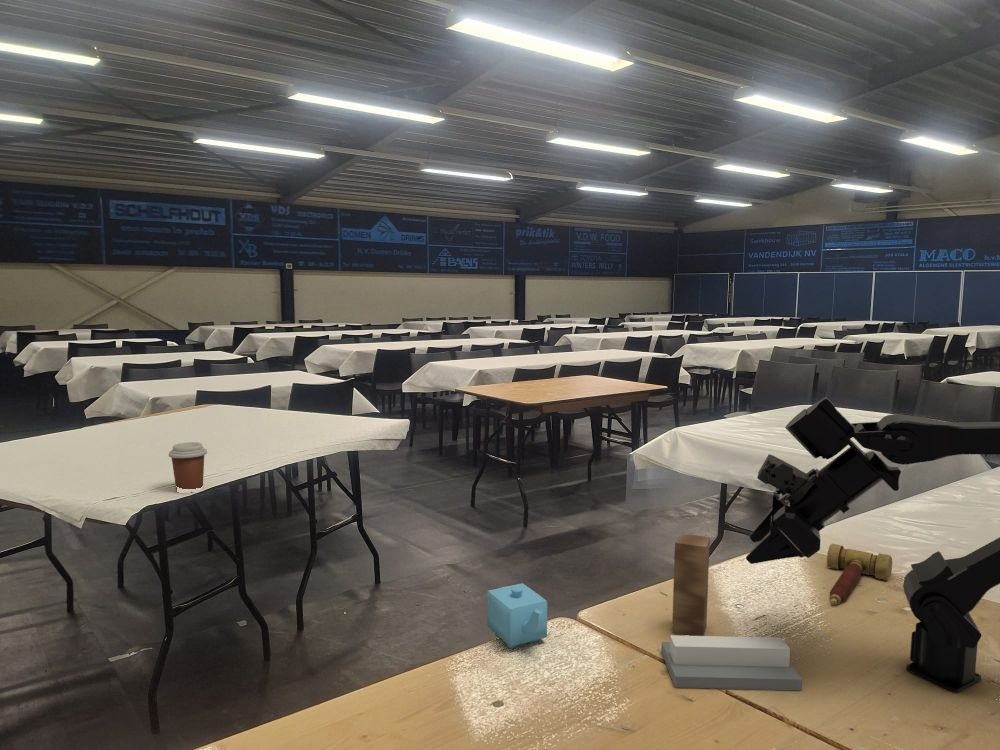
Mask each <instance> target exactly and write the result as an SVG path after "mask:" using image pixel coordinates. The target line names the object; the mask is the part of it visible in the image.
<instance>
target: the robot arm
mask: <svg viewBox="0 0 1000 750" xmlns="http://www.w3.org/2000/svg"><path fill="white" fill-rule="evenodd" d="M784 428H785V429H786V431H788V432H789V434H790V435H792V436H793V438H794V439H795V441H797V442H798V443H799V444H800V445H801V446H802V447H803V449H805V451H807V452H808V453H809V455H811V456H812V457H813V458H814V459H818V458H820V457H821V458H822V459H823V460H825V459H826V460H830V459H832V458H834V457H835V456H837V455H838V454H839V455H838V456H837V457H835V458H834V459H832V460H831V461H830V462H829V463H827V464H826V465H824V466H823V467H822V468H821V469H818V468H811V469H810V470H809V471H808V472H804V471H802V470H801V469H799V468H797V467H796V466H794V465H793V464H790V463H788V462H787V461H785V460H783V459H781V458H778V457H777V456H775V455H772V454H767V457H766V458H765V460H764V461H763V463H762V464H761V466H760V468H759V470H758V472H757V479H758V480H759V481H760V482H762V483H763V484H764V485H770V486H772V487H774V488H775V491H773V492H772V505H771V508H770V509H769V511H768V512H767V513H766V515H765V516H764V518H762V520H761V521H760V522H759V523H758V525H757V526H755V528H754V529H753V531H752V532H751V533H750V535H749V539H750V540H751V542H752V543H757V544H756V545H755V547H753V548H752V550H751V551H750V552H749V553H748V554H747V555H746V557H745V559H746V561H748V563H749V564H751V565H753V564H754V565H755V564H759V563H764V562H770V561H771V562H772V561H777V560H783V559H790V558H798V557H800V558H803V557H804V558H805V557H806V558H807V559H809V558H811V557H812V556H813V555H815V554H816V553H818V552H819V551H820V550H821V536H820V535H821V534H820V532H821V530H823V529H824V528H825V523H826V522H827V521H829V520H830V519H831V518H832V517H834V516H835V515H836V514H838V513H840V512H842V514H846V512H848V511H849V510H850V509H851V508H850V505H851V504H852V503H853V502H855V501H856V500H857V499H859V498H860V497H861V496H863V495H864V494H865V493H867V492H868V491H870V490H871V489H873V488H874V487H875V486H877V485H878V484H879V483H881V482H882V481H884V482H885V483H886V485H887V486H888V487H890V489H892V490H893V491H894V492H898V491H899V490H900V483H899V482H900V476H901V474H902V471H901V469H900V468H899V467H898V466H889V465H888V464H887V463H886V462H885V461H884V460H883V458H881V457H880V456H879V455H878V454H877V452H879V453H881V455H882V456H883V457H884V458H885V459H887V460H888V461H890V463H894V464H897V465H903V466H904V465H913V464H920V463H927V462H932V461H937V460H940V459H944V458H947V457H954V456H960V455H1000V421H973V422H972V421H969V422H966V421H964V422H963V421H962V422H960V421H959V422H957V421H956V422H953V421H946V420H942V419H941V420H939V419H934V418H929V417H925V416H916V415H909V414H903V413H902V414H901V413H893V414H887V415H885V416H883V417H882V418H881V419H880V420H879V421H871V422H869V421H867V422H852V423H851V422H850V421H849V420H848V419H847V418H846V417H844V415H843V414H842V413H841V412H839V410H838V409H837V408H836V406H835V405H834V403H833V402H832V401H831V400H830V399H829V398H828V397H826V396H824V397H823V398H822V399H820V400H819V401H817V402H815V403H813V404H812V405H811V406H809V407H808V408H803V409H802V411H800V412H799V413H798V414H796V416H795V415H794V417H793V418H792V419H791V420H789V422H788V423H787V424H786V426H785V427H784ZM852 439H854V440H855V441H857V442H858V444H859V445H860V446H861V447H863V449H867V450H870V451H869V452H866V453H865V451H863V450H862V449H861V448H860V447H859V446H858V445H857V443H855V442H854V441H853V440H852ZM848 446H849V447H848ZM846 447H848V448H846ZM845 448H846V450H844V449H845ZM843 450H844V451H843ZM841 451H843V452H842V453H840V452H841ZM910 567H911V568H912V570H910V571H909V572H907V574H906V575H905V576H904V579H903V585H902V587H903V592H904V593H903V594H904V595H905V598H906V600H907V603H908V605H909V608H910V610H911V612H912V614H913V616H914V617H915V618H916V619H917V620H918V622H916V623H915V629H914V631H913V632H911V637H910V639H911V640H910V651H909V652H910V653H909V660H910V662H911V663H908V664H906V665H905V669H906V670H907V671H908V672H911V673H913V674H915V675H917V676H919V677H921V678H924V679H926V680H927V681H929V682H932V683H934V684H936V685H939V686H940V687H943V688H945V689H947V690H949V691H951V692H955V693H958V692H960V691H962V690H964V689H965V688H968V687H970V686H972V685H973V684H975V683H977V682H979V681H982V675H981V674H979V673H977V672H976V668H977V657H978V656H977V654H978V643H979V641H980V640H981V638H982V633H981V631H980V630H979V628H978V626H977V624H976V623H975V621H974V619H973V617H972V615H971V612H972V611H973V610H974V609H975V607H976V606H977V605H978V604H979V603H980V601H981V600H982V599H983V597H984V596H985V595H986V594H987V592H989V591H990V590H991V589H992V588H995V587H996V586H998V585H1000V537H997V538H996V539H994V540H992V541H990V542H988V543H986V544H985V545H983V546H981V547H979V548H977V549H976V550H974V551H971V552H970V553H968V554H967V555H964V556H961V557H956V558H950V559H949V558H948V559H945V558H944V556H943V555H942V553H941V552H940V551H936V552H934V553H932V554H931V555H930V556H929V557H927V558H926V559H925V560H922V561H920V562H918V563H911V565H910Z"/></svg>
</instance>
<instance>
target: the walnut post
mask: <svg viewBox="0 0 1000 750" xmlns="http://www.w3.org/2000/svg"><path fill="white" fill-rule="evenodd" d="M710 540H711V537H710V536H704V535H694V534H689V533H688V534H687V533H681V532H679V533H678V535H677V537H676V539H675V542H674V559H673V561H674V562H673V589H672V590H673V591H672V592H673V594H672V624H671V625H672V626H671V633H672V634H673V633H674V634H673V635H679V634H681V635H680V636H684V635H689V636H705V634H706V630H707V621H708V620H707V619H708V598H709V597H708V596H709V595H708V593H709V570H710V568H709V567H710V566H709V565H710ZM705 629H706V630H705ZM704 633H705V634H704ZM682 634H683V635H682Z"/></svg>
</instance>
